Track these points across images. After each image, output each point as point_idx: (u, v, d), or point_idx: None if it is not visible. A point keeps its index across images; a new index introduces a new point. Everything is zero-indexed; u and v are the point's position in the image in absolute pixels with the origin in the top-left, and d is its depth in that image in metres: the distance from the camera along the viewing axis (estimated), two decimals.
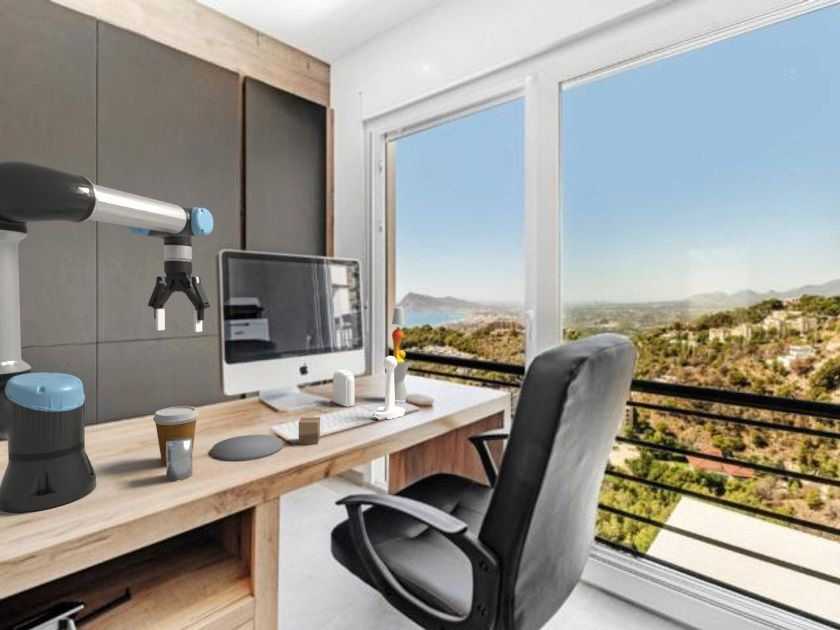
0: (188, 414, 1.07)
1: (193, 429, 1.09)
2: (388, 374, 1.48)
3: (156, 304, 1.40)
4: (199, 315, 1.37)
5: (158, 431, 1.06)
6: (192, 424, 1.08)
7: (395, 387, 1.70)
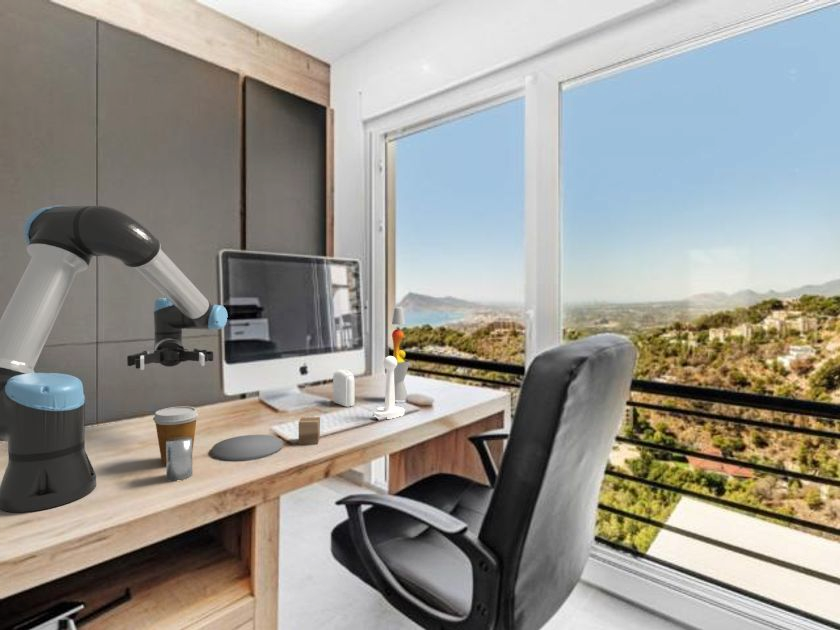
0: (188, 414, 1.07)
1: (193, 429, 1.09)
2: (388, 374, 1.48)
3: (141, 355, 1.20)
4: (205, 355, 1.25)
5: (158, 431, 1.06)
6: (192, 424, 1.08)
7: (395, 387, 1.70)
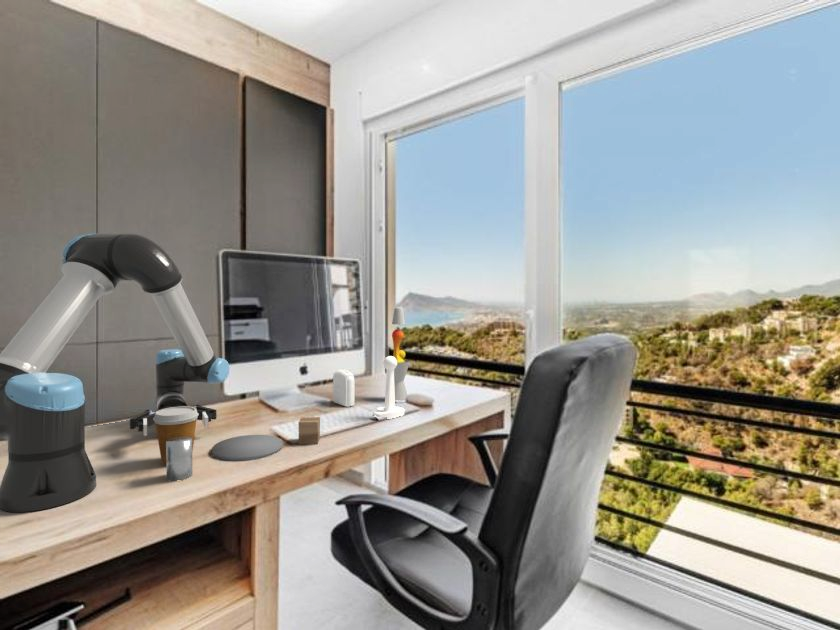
0: (188, 414, 1.07)
1: (193, 429, 1.09)
2: (388, 374, 1.48)
3: (144, 417, 1.19)
4: (209, 415, 1.24)
5: (158, 431, 1.06)
6: (192, 424, 1.08)
7: (395, 387, 1.70)
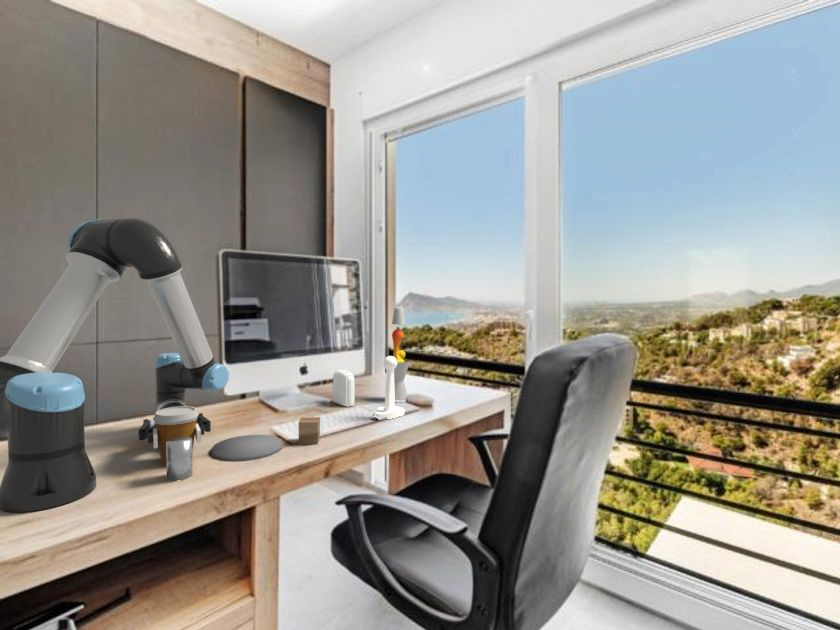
0: (188, 414, 1.07)
1: (193, 429, 1.09)
2: (388, 374, 1.48)
3: (152, 427, 1.09)
4: (202, 427, 1.12)
5: (158, 431, 1.06)
6: (192, 424, 1.08)
7: (395, 387, 1.70)
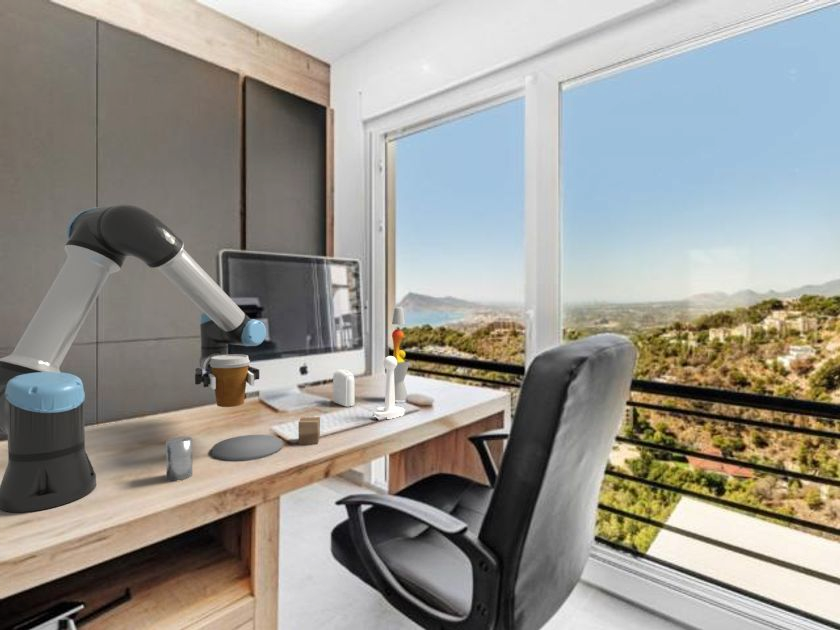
0: (242, 359, 1.14)
1: (246, 374, 1.16)
2: (388, 374, 1.48)
3: (207, 373, 1.16)
4: (253, 373, 1.19)
5: (214, 374, 1.12)
6: (245, 369, 1.15)
7: (395, 387, 1.70)
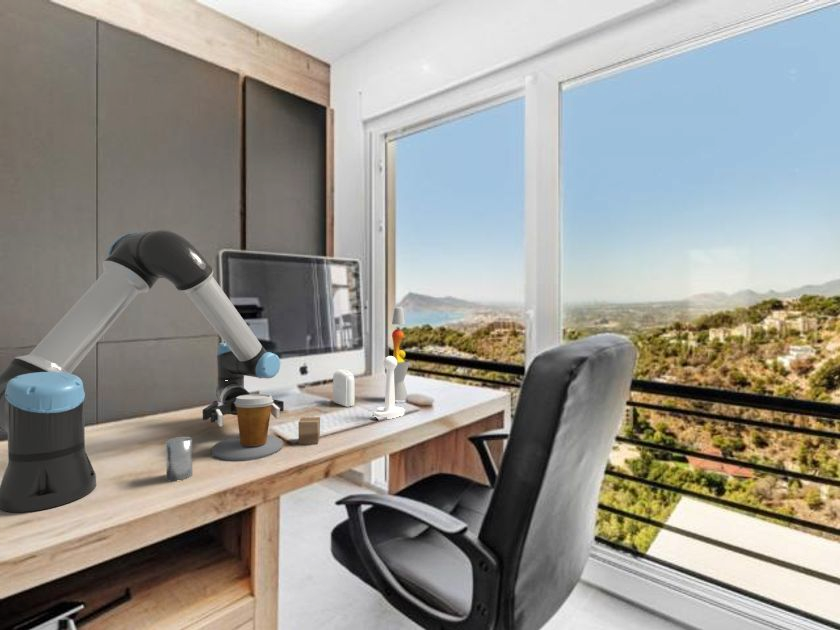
0: (267, 398, 1.17)
1: (269, 413, 1.19)
2: (388, 374, 1.48)
3: (216, 408, 1.18)
4: (277, 406, 1.23)
5: (240, 414, 1.16)
6: (269, 408, 1.19)
7: (395, 387, 1.70)
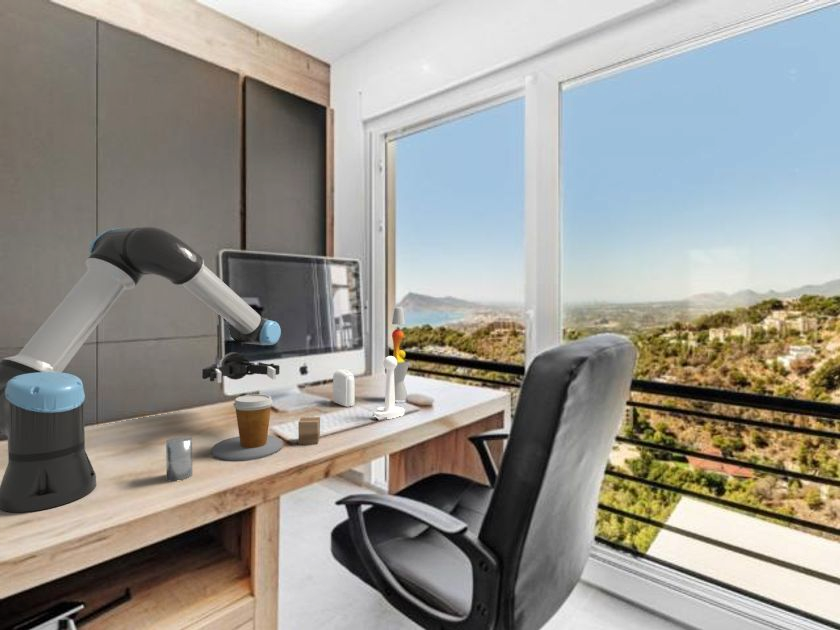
0: (266, 400, 1.17)
1: (269, 414, 1.19)
2: (388, 374, 1.48)
3: (215, 368, 1.25)
4: None
5: (239, 416, 1.15)
6: (268, 410, 1.18)
7: (395, 387, 1.70)
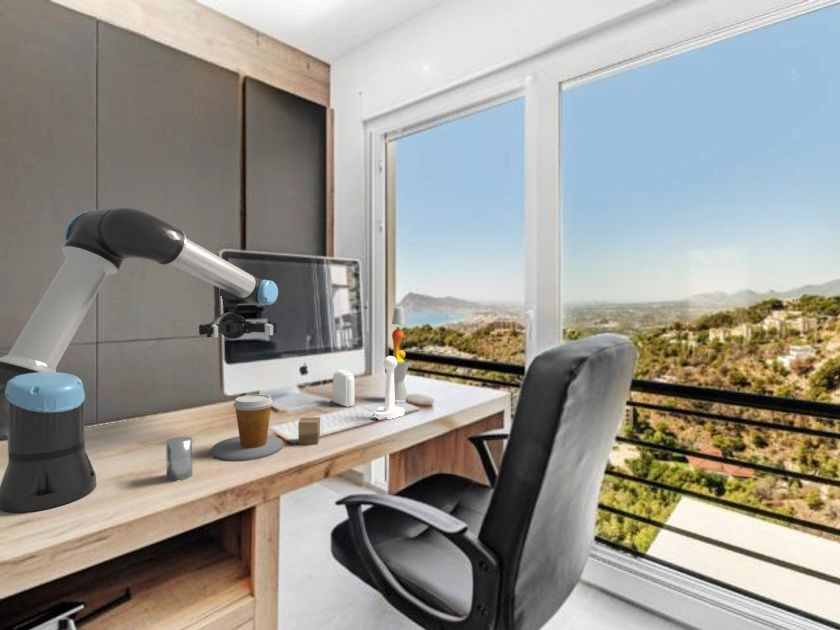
0: (266, 400, 1.17)
1: (269, 414, 1.19)
2: (388, 374, 1.48)
3: (211, 324, 1.23)
4: None
5: (239, 416, 1.15)
6: (268, 410, 1.18)
7: (395, 387, 1.70)
